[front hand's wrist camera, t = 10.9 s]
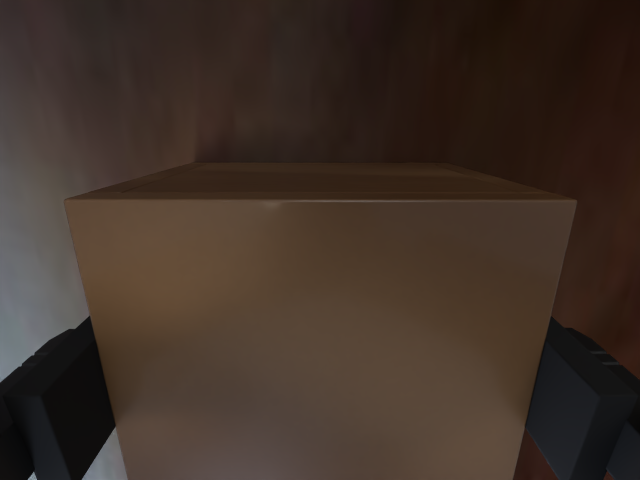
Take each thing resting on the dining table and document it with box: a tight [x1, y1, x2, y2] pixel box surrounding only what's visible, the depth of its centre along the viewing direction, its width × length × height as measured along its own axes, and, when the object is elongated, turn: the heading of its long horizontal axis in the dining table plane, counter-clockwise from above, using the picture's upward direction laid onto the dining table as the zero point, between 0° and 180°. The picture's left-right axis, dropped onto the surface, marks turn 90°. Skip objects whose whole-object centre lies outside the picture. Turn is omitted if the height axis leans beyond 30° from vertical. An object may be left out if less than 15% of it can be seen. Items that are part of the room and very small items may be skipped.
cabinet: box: [64, 162, 577, 480], centre depth 14 cm, size 19×11×8 cm, turn 0°
